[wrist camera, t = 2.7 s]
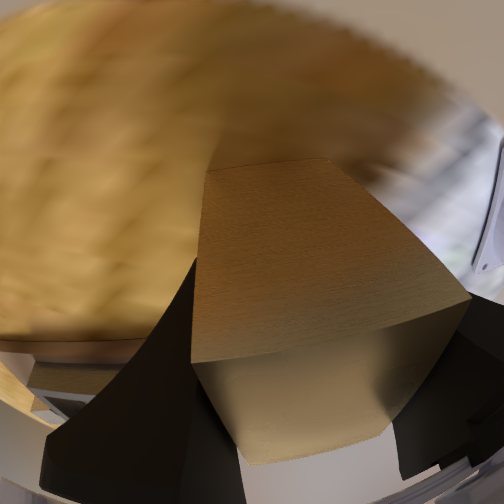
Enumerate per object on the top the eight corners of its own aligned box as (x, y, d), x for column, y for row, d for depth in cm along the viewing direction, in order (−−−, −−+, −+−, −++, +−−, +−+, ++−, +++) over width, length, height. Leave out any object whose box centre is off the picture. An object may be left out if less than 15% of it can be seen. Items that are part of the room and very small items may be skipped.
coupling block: (325, 158, 9) (472, 298, 3) (321, 291, 12) (379, 435, 6) (206, 172, 9) (191, 363, 3) (232, 306, 12) (249, 465, 6)
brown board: (268, 323, 13) (279, 376, 11) (275, 402, 18) (282, 438, 16) (-4, 340, 12) (-19, 372, 10) (59, 405, 17) (53, 433, 15)
